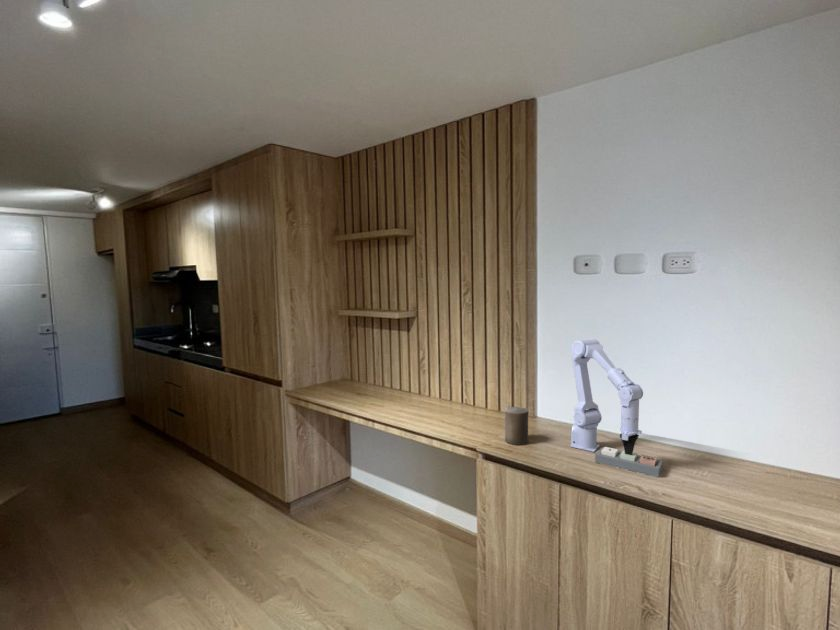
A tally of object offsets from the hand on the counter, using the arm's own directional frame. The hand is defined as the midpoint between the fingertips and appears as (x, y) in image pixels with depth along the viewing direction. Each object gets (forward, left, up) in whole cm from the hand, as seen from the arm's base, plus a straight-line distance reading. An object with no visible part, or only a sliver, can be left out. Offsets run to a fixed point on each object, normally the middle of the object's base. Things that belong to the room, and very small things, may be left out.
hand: (628, 453), depth 158 cm
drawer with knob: (-6, 0, -4) cm, 8 cm away
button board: (0, 0, -4) cm, 4 cm away
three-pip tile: (+7, 0, -4) cm, 8 cm away
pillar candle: (-44, -2, -5) cm, 44 cm away
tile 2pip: (0, 0, -4) cm, 4 cm away
